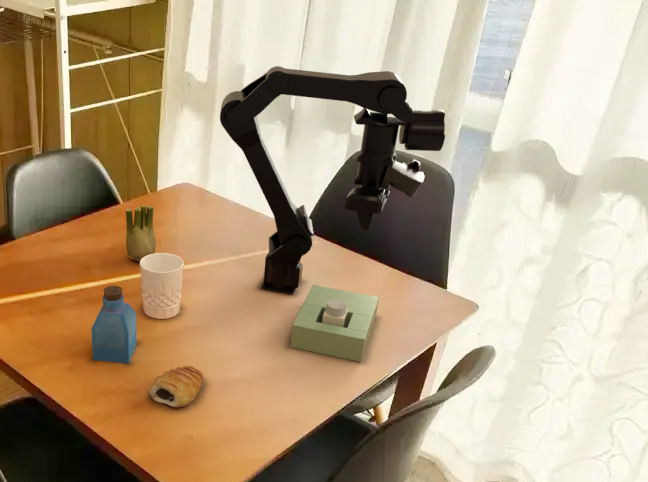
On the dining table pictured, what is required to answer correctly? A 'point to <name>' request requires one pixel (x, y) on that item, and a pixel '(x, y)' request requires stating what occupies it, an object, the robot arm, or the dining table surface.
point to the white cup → (161, 284)
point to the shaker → (335, 313)
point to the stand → (329, 337)
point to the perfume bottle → (114, 328)
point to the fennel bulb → (140, 233)
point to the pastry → (177, 386)
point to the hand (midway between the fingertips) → (365, 230)
